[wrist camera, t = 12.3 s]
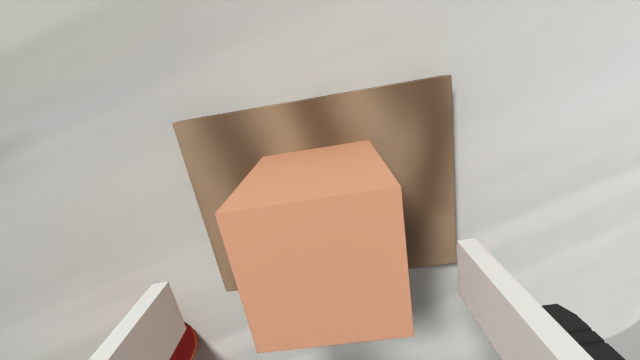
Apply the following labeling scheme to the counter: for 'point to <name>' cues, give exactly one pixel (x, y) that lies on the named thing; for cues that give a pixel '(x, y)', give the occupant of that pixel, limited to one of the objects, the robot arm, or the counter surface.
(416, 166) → the wooden base with block
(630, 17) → the counter surface
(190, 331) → the paper cup
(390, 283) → the peach bevelled cube
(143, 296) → the robot arm
